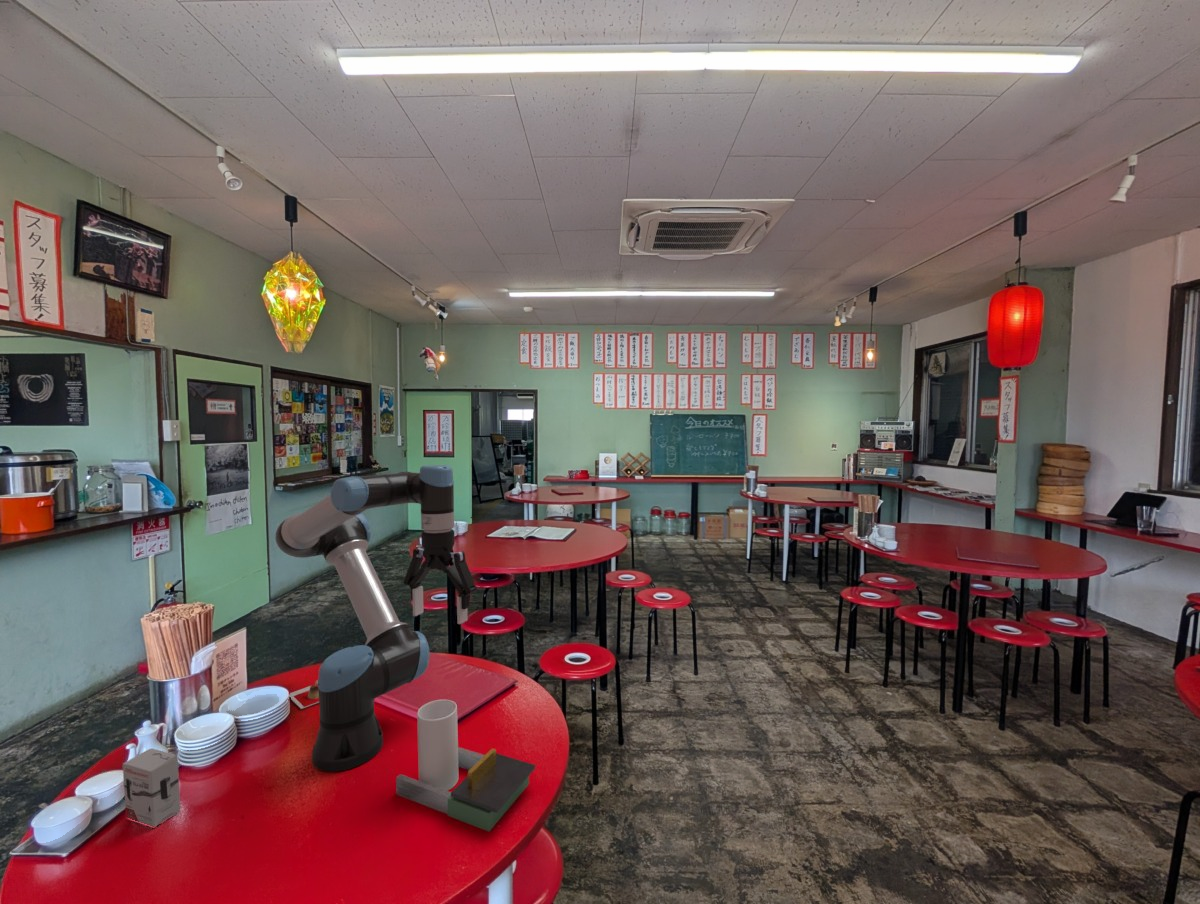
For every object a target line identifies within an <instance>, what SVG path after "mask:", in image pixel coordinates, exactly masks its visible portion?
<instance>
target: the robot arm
mask: <svg viewBox="0 0 1200 904" xmlns="http://www.w3.org/2000/svg"><path fill="white" fill-rule="evenodd" d="M454 485H455V481H454V471H453V468H452V466H451V465H448V464H431V465H429V464H427V465H422V466H420V469H419V472H413V471H412V472H411V471H401V472H400V471H399V472H395V473H388V474H373V475H359V476H358V475H355V476H354V475H351V476H348V477H342V478H338V479H336V480H335V481H334V482H333V484H332V486H331V489H330V494H329V495H327V496H325V497H324V498H322V499H321V500H320V501H318V502H317V503H316V504H314V505H311V507H309V508H307V509H306V510H305V511H303V512H302V513H295V514H292V515H290V516H289V517H286V519H285V520H283V521H282V522H281V523H280V524H279V525H278V527H277V529H276V531H275V537H274V538H275V543H276V545H277V547H278V549H280V551H281V552H283V553H285V554H286V555H288V556H290V557H294V558H312V557H317V556H323V558H324V561H325V563H326V564H328V565H330V566H331V565H332V566H334V567H335V570H336V571H337V574H338V577H339V578H340V580H341V581H340V582H341V583H342V585H343V588H344V589H345V592H346V595H347V597H348V598H349V601H350V603H351V606H352V607H353V610H354V612H355V614H356V616H357V618H358V621H359V623H360V625H361V627H362V629H363V631H364V634H365V636H366V642H365V644H364V645H363V644H361V645H360V644H359V645H353V646H348V647H345V648H342V649H339V650H337V651H335V652H333V653H332V654H331V655H329V656H328V657H326V658H325V659H324V660H323V662H322V663H321V665H320V666H319V669H318V678H317V680H318V688H319V698H318V702H319V703H318V704H319V706H318V708H319V711H318V714H319V728H318V731H317V735H316V738H315V739H316V740H315V743H314V745H313V747H312V752H311V761H312V766H313V767H314V768H315V769H317V770H319V771H322V772H328V773H329V772H341V771H346V770H350V769H353V768H356V767H358V766H361V765H363V764H365V763H367V762H368V761H370V760H371V759H372V758H374V757H375V756H376V755H377V754H378V753H379V752H380V750H381V749H382V748H383V745H384V737H383V736H384V735H383V730H382V727H381V725H380V723H379V720H378V718H377V716H376V714H375V699H376V698H379V697H380V696H383V695H385V694H387V693H389V692H391V691H394V690H395V689H398V688H400V687H402V686H404V685H406V684H411V683H412V682H413V681H414V680H416V679H418V678H420V677H421V676H422V675H424V673H425V672H426V671H427V669H428V666H429V665H430V664H429V663H430V655H431V654H430V646H429V643H428V640H427V638H426V636H425V635H424V634H423V633H422V632H421V631H419V630H418V631H417V630H413V631H412V630H411V628H410V626H409V624H408V623H407V622H403V621H402V622H401V621H400V619H399V617H398V615H397V613H396V612H395V609H394V607H393V605H392V603H391V601H390V599H389V597H388V595H387V593H386V591H385V589H384V586H383V584H382V583H381V580H380V578H379V576H378V574H377V571H376V570H375V568H374V567H375V566H374V565H373V564H372V561H371V559H370V557H369V556H368V553H367V550H368V548H369V545H370V544H369V542H370V540H371V535H372V533H371V531H370V529H371V527H370V524H369V521H368V519H367V518H366V516H365V515H364V514H363V512H365V511H367V510H369V509H374V508H380V507H381V508H382V507H388V506H395V505H404V504H405V505H406V504H419V505H420V520H421V521H420V525H421V530H422V532H421V534H420V535H421V537H420V538H421V546H420V547H417V548H416V547H415V548H413V550H412V558H411V560H410V564H409V566H408V569H407V572H406V575H405V577H404V580H403V585H404V586H408V587H409V588H410V600H411V601H412V617H417V616H420V615H422V614H423V613H424V611H425V610H424V586H422V585H423V581H424V580H425V579H426V577H427V575H428V574H429V573H430V571H431V570H437V571H443V573H444V574H446V575H447V577H448V578H449V580H450V582H451V583H452V584H453V586H454V587H455V589H456V591H457V593H458V595H456V616H457V618H456V619H457V624H458V625H462V624H464V623H465V622H467V621H468V619H469V617H468V613H469V612H468V608H470V594H472V593H474V592H477V586H476V583H475V581H474V577H473V575H472V574H471V571H470V569H469V566H468V563H467V561H466V554H465V551H464V550H462V551H457V552H455V551H454V546H455V542H456V538H455V530H454V528H455V509H454V508H455V507H454V505H455V504H454V503H455V501H454V500H455V497H454V496H455V495H454V490H455V489H454ZM423 560H424V561H423Z"/></svg>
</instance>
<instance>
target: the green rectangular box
mask: <svg viewBox="0 0 1200 904" xmlns="http://www.w3.org/2000/svg"><path fill="white" fill-rule="evenodd" d="M529 785H530V775H529V776H528V777H527V779H526V780H525V781H524V782H523V783H522V784H521V786H520V787H519V788H518V789H517V790H516V791H515V793H514V794H513V795H512V796H511V797H510V798H509V800H508V801H507V802H506V803H505V804H504V805H503V807H502V808H501V809H500V810H499V811H498V813H495V812H492V811H490V810H487V809H484V808H481V807H479V806H476V805H473V804H471V803H468V802H465V801H462V800H460V799H457V798H454V797H451V796H450V797H448V798H447V799H448V814H447V816H448V817H449V818H453V819H456V820H458V821H460V822H463V823H465V824H468V825H471V826H474V827H476V828H479V829H481V830H484V831H486V832H491V830H493V828H494V827H495V825H496V824H497V823H498V822H499V821H500V820H501V818H502V817H503V816H504V814H506V812H507V811H508V810H509V809H510V808H511V807H512V805H513V804H514V803H515V801H516V800H517V799H519V797H520V795H522V793H523V792H524V791H525V790H526V788H528V786H529Z"/></svg>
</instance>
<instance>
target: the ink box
mask: <svg viewBox="0 0 1200 904" xmlns="http://www.w3.org/2000/svg"><path fill="white" fill-rule="evenodd" d="M178 757H179V756H177V755H176V754H173V753H171V752H168V751H163V750H159V749H155V748H149V749H147V750H144V751H143V752H141V753H140V754H137V755H136V756H134V757H132V758H130V759H129V760H127V761H125V762H123V763H122V774H123V775H122V777H123V790H124V793H123V794H124V808H125V818H126V817H127V818H130V819H132V820H135V821H138V822H141V823H144V824H147V825H150V826H152V827H155V826H157V825H158V824H160V823H162V822H163V821H165V820H166V819H168V818H169V817H171V816H173V815H175V814H176V813H178V812H179V813H181V797H180V796H181V795H180V776H179V761H178V759H179V758H178ZM179 813H178V814H179ZM176 815H177V814H176ZM176 815H175V816H176ZM173 817H174V816H173ZM165 822H166V821H165ZM162 824H163V823H162Z"/></svg>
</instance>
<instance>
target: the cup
mask: <svg viewBox="0 0 1200 904" xmlns="http://www.w3.org/2000/svg"><path fill="white" fill-rule="evenodd" d="M416 717H417V752H418V753H417V754H418V755H417V756H418V759H417V760H418V763H417V764H418V765H417V766H418V781H421V782H424V783H426V784H429V785H432V786H435V787H437V788H440V789H443V790H446V791H450V790H451V789H453V788H454V787H455V786H456V785H457V783H458V781H459V775H460V774H459V767H458V747H459V740H458V739H459V737H458V734H459V733H458V729H459V728H458V706H457V703H456V702H455V701H453V700H449V699H436V700H431V701H429V702H426V703H424V704H423V705H421V707H419V708H418V710H417V715H416Z"/></svg>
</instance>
